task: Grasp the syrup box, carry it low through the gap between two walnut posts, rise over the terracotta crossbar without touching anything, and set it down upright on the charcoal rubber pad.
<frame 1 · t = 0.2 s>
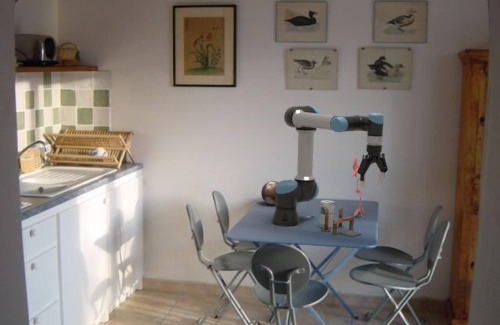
hand: (371, 186, 301), 28 cm above the table, fingers open, 13 cm apart
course: (338, 230, 320), on the table
wooden sphere: (272, 204, 378), on the table
figurine: (352, 214, 356), on the table
syrup box: (326, 227, 327), on the table
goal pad: (350, 234, 313), on the table
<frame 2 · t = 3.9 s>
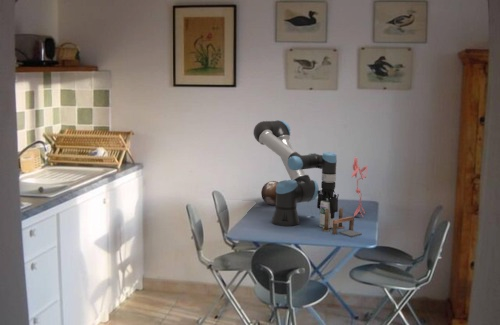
hand: (326, 222, 326), 2 cm above the table, fingers closed on syrup box, 6 cm apart
syrup box: (326, 227, 327), on the table, touching gripper
everything else where it was.
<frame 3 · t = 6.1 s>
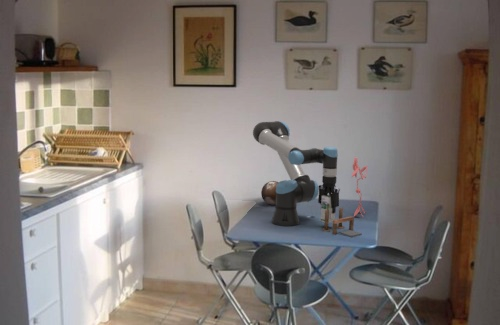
hand: (327, 217, 325), 5 cm above the table, fingers closed on syrup box, 6 cm apart
syrup box: (327, 222, 326), point 3 cm above the table, touching gripper
everything else where it was.
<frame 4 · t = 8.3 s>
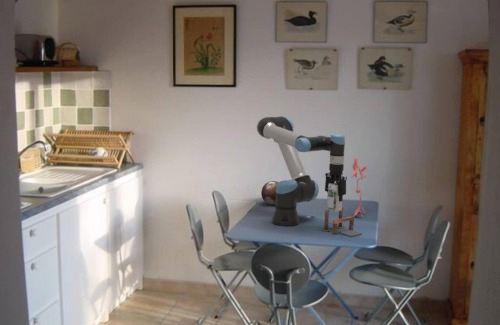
hand: (334, 205, 321), 13 cm above the table, fingers closed on syrup box, 6 cm apart
syrup box: (334, 210, 321), point 10 cm above the table, touching gripper
everything else where it was.
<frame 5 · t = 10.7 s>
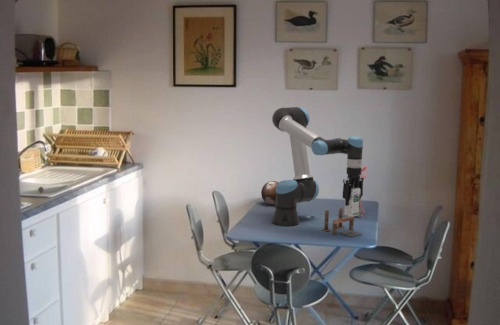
hand: (351, 210, 311), 13 cm above the table, fingers closed on syrup box, 6 cm apart
syrup box: (351, 215, 312), point 10 cm above the table, touching gripper
everything else where it was.
when the fingers open (4 cm above the table, at t = 12.9 s): syrup box drops 1 cm, resting on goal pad.
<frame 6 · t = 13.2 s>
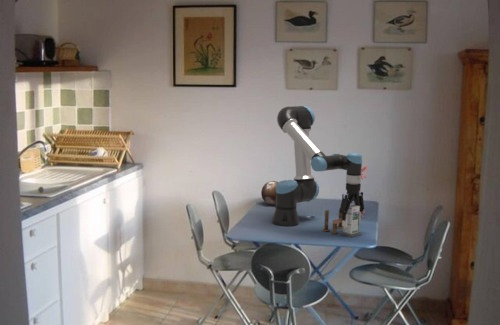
hand: (351, 224, 312), 5 cm above the table, fingers open, 9 cm apart
syrup box: (350, 233, 313), point 1 cm above the table, touching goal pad
everything else where it was.
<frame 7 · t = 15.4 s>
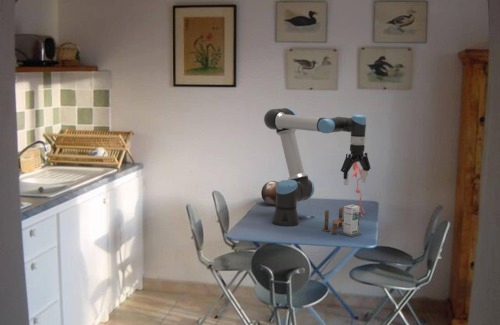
hand: (355, 183, 318), 25 cm above the table, fingers open, 13 cm apart
nothing on the table moved.
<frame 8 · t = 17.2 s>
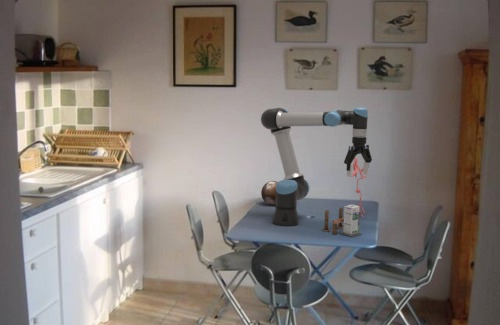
hand: (357, 175, 324), 29 cm above the table, fingers open, 13 cm apart
nothing on the table moved.
at the end: syrup box inside the target area on the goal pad (0.1 cm from its centre), point 0.6 cm above the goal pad's base; syrup box tilted 0°; the gripper is holding nothing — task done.
